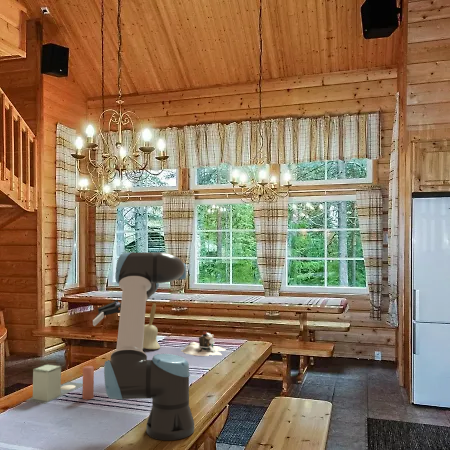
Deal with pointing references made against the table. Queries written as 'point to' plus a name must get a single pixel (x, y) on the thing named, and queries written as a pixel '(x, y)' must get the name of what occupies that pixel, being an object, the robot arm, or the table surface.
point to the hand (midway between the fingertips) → (107, 328)
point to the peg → (88, 382)
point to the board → (64, 390)
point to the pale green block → (46, 382)
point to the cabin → (203, 346)
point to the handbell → (150, 332)
